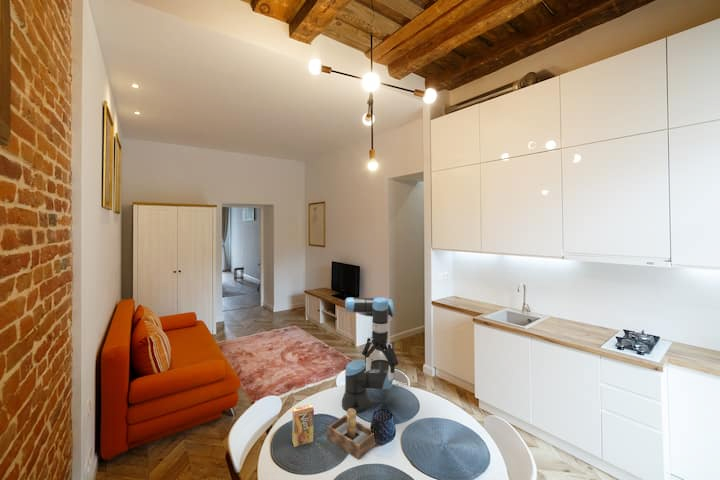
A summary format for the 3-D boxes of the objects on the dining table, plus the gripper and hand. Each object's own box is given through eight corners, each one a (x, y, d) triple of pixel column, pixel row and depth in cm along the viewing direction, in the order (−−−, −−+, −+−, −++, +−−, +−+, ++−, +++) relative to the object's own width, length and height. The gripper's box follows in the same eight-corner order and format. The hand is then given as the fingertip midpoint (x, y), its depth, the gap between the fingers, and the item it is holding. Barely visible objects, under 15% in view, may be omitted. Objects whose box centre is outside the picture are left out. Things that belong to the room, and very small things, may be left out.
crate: (327, 438, 137) (327, 426, 136) (345, 426, 146) (345, 415, 146) (358, 459, 124) (358, 446, 124) (375, 444, 133) (376, 432, 133)
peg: (344, 441, 135) (345, 411, 135) (350, 437, 138) (351, 407, 138) (351, 445, 132) (351, 414, 132) (357, 441, 135) (357, 410, 135)
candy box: (310, 436, 138) (311, 403, 138) (313, 442, 134) (314, 408, 134) (291, 441, 134) (292, 408, 134) (294, 448, 130) (294, 413, 130)
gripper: (355, 327, 148) (354, 369, 149) (397, 338, 132) (396, 386, 132) (365, 323, 154) (364, 364, 154) (406, 334, 138) (405, 380, 138)
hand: (379, 374), depth 143 cm, fingers open, 13 cm apart
